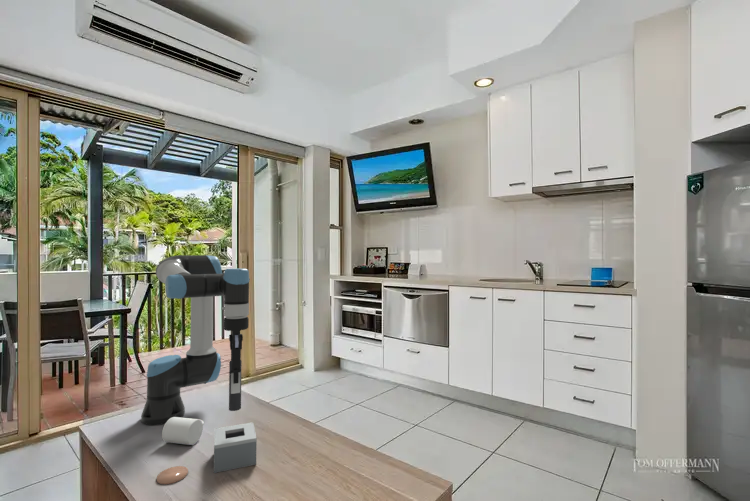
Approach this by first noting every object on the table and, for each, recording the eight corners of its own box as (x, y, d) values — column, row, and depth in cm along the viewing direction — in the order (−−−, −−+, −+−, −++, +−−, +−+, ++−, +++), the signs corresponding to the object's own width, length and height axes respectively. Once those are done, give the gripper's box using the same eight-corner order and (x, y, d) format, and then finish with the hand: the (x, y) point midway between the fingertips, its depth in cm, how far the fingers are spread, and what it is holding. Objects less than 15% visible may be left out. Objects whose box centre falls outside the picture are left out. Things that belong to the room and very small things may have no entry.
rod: (228, 407, 119) (229, 360, 119) (240, 405, 120) (241, 359, 120) (229, 411, 115) (229, 363, 116) (241, 409, 117) (241, 362, 117)
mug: (187, 449, 123) (187, 425, 123) (161, 446, 125) (161, 422, 125) (210, 433, 134) (210, 410, 135) (186, 430, 136) (186, 408, 137)
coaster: (158, 471, 110) (159, 469, 110) (189, 465, 113) (189, 463, 113) (154, 487, 102) (154, 484, 102) (186, 480, 106) (187, 478, 106)
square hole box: (214, 453, 120) (214, 428, 120) (252, 446, 125) (253, 422, 125) (213, 473, 109) (214, 445, 109) (256, 464, 114) (256, 438, 114)
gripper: (223, 313, 124) (222, 383, 124) (223, 321, 109) (222, 401, 109) (246, 312, 127) (245, 381, 127) (250, 320, 112) (249, 398, 112)
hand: (235, 390), depth 118 cm, fingers closed on rod, 3 cm apart
